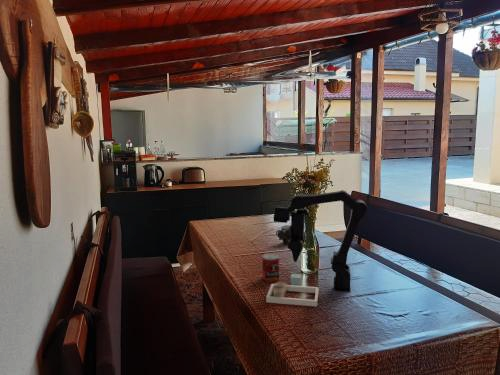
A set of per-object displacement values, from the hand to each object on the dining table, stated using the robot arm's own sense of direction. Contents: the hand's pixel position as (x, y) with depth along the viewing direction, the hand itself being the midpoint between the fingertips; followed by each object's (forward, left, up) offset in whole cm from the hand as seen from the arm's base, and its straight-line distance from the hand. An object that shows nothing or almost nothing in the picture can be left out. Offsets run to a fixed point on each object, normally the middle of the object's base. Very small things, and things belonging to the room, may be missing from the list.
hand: (296, 258), depth 180 cm
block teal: (0, 0, -12) cm, 12 cm away
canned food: (+12, -5, -13) cm, 18 cm away
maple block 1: (+5, +10, -12) cm, 17 cm away
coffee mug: (+12, -63, -13) cm, 65 cm away
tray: (0, +13, -12) cm, 18 cm away
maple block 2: (+5, +16, -12) cm, 21 cm away
